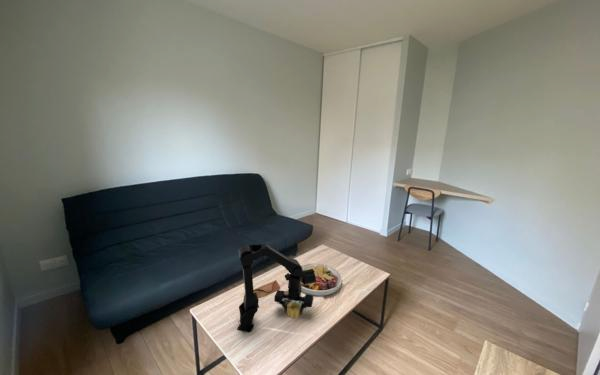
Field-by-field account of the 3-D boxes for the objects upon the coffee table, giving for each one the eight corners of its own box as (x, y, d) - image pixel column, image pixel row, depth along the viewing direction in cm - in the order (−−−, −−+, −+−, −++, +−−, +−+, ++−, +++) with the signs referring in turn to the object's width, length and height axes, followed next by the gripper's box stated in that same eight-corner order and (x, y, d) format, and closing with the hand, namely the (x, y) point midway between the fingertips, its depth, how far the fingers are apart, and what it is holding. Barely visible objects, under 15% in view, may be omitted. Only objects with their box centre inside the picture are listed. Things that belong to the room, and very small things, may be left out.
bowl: (282, 280, 149) (282, 269, 148) (316, 264, 169) (316, 254, 167) (317, 306, 127) (317, 293, 126) (351, 285, 147) (352, 273, 145)
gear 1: (290, 305, 126) (290, 299, 125) (276, 303, 127) (276, 296, 126) (293, 296, 133) (293, 290, 132) (280, 294, 134) (280, 288, 133)
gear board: (305, 310, 124) (305, 300, 123) (276, 305, 127) (276, 296, 126) (307, 300, 132) (308, 291, 131) (280, 296, 135) (280, 287, 133)
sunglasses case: (257, 303, 128) (254, 290, 130) (251, 303, 133) (248, 290, 135) (284, 290, 140) (281, 278, 141) (278, 290, 145) (275, 279, 146)
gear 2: (298, 320, 117) (299, 312, 116) (285, 318, 118) (285, 309, 117) (301, 311, 123) (301, 302, 122) (288, 309, 125) (288, 300, 123)
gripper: (315, 278, 123) (314, 305, 127) (280, 273, 127) (280, 299, 130) (312, 292, 113) (311, 320, 116) (274, 286, 116) (273, 314, 119)
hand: (293, 313), depth 120 cm, fingers closed on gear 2, 7 cm apart
